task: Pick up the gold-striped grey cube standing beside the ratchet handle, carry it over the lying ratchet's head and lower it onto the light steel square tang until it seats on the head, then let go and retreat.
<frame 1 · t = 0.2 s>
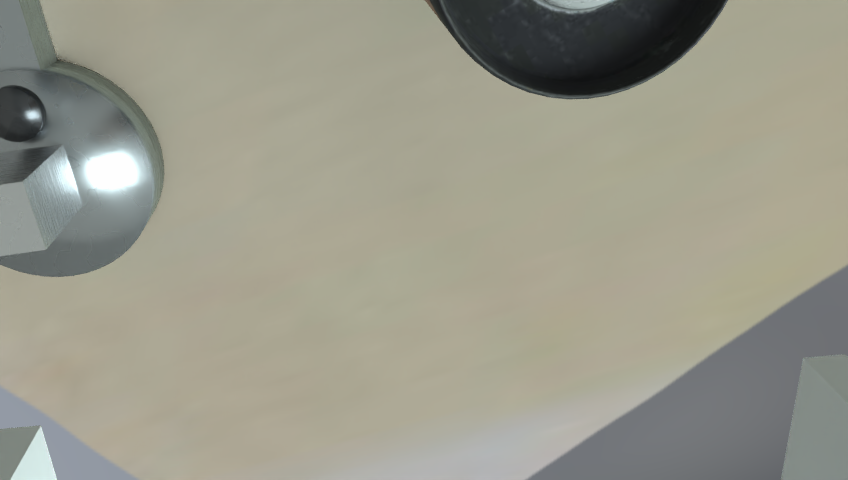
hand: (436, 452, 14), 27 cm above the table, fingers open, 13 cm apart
ratchet: (58, 162, 39), on the table
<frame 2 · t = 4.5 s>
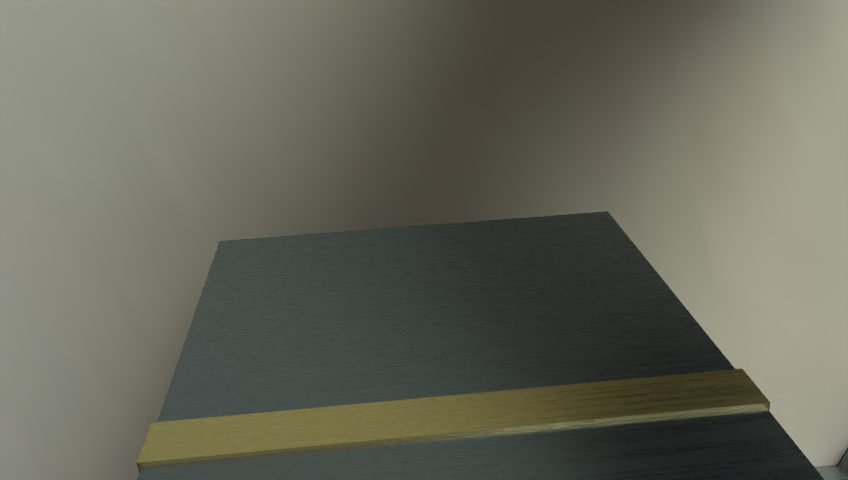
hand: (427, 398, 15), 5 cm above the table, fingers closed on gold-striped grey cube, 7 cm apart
gold-striped grey cube: (425, 388, 16), point 5 cm above the table, touching gripper
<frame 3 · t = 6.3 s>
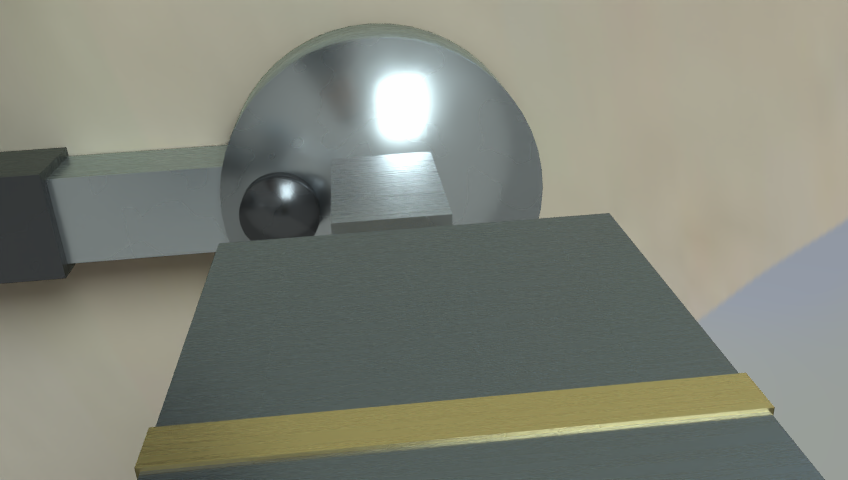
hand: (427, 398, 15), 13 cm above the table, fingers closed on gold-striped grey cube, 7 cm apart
ratchet: (380, 174, 27), on the table
gold-striped grey cube: (425, 390, 16), point 13 cm above the table, touching gripper
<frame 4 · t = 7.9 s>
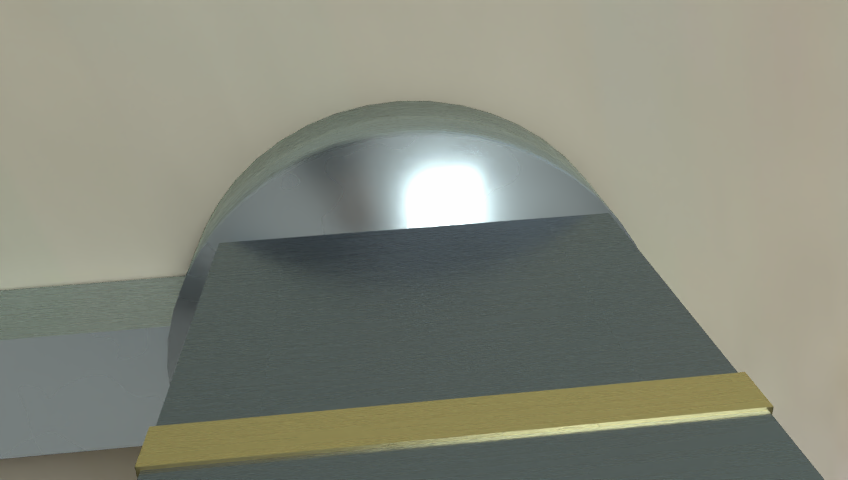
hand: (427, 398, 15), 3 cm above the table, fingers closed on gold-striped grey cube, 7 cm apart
ratchet: (410, 312, 18), on the table
gold-striped grey cube: (425, 390, 16), point 3 cm above the table, touching gripper
when the fingers open (3 cm above the table, at t = 8.5 s): gold-striped grey cube stays where it is, resting on ratchet.
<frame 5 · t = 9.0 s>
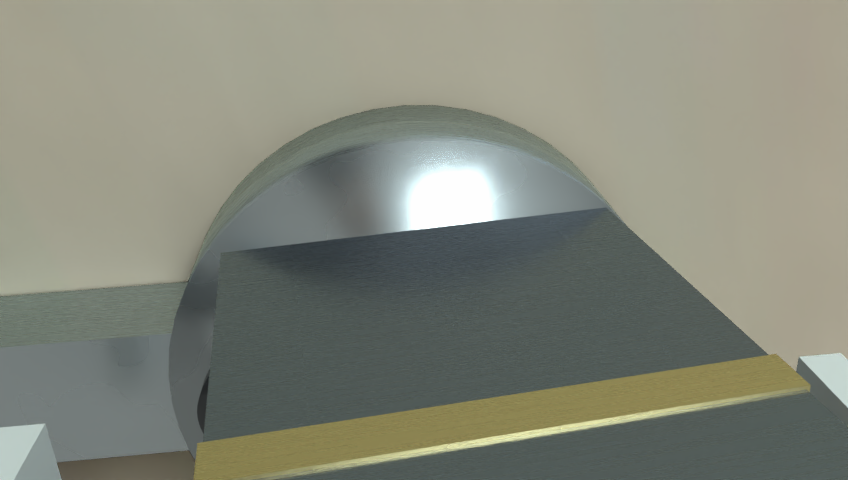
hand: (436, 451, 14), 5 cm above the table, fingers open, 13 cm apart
ratchet: (415, 319, 18), on the table
gold-striped grey cube: (428, 392, 16), point 3 cm above the table, tilted 6°, touching ratchet
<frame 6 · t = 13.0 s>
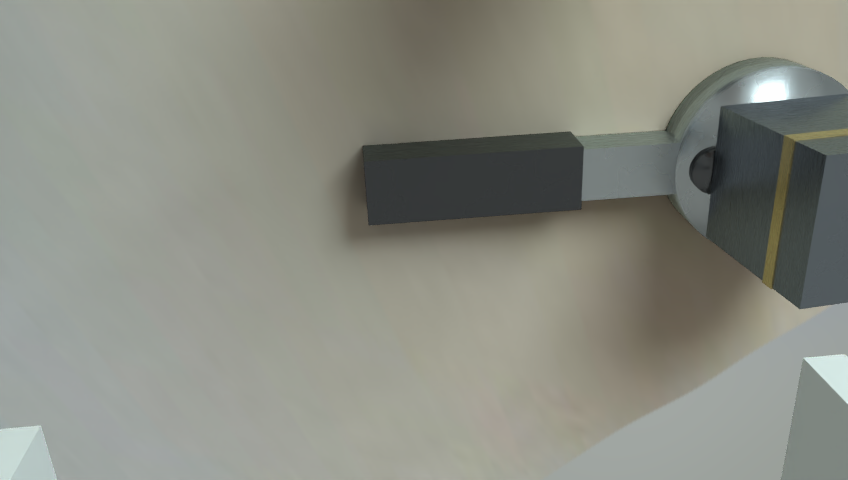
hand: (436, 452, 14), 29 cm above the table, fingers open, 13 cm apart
ratchet: (749, 149, 43), on the table
gold-striped grey cube: (775, 166, 41), point 3 cm above the table, tilted 6°, touching ratchet
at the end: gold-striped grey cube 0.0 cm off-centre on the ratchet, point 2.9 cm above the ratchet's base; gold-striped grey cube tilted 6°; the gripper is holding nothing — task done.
